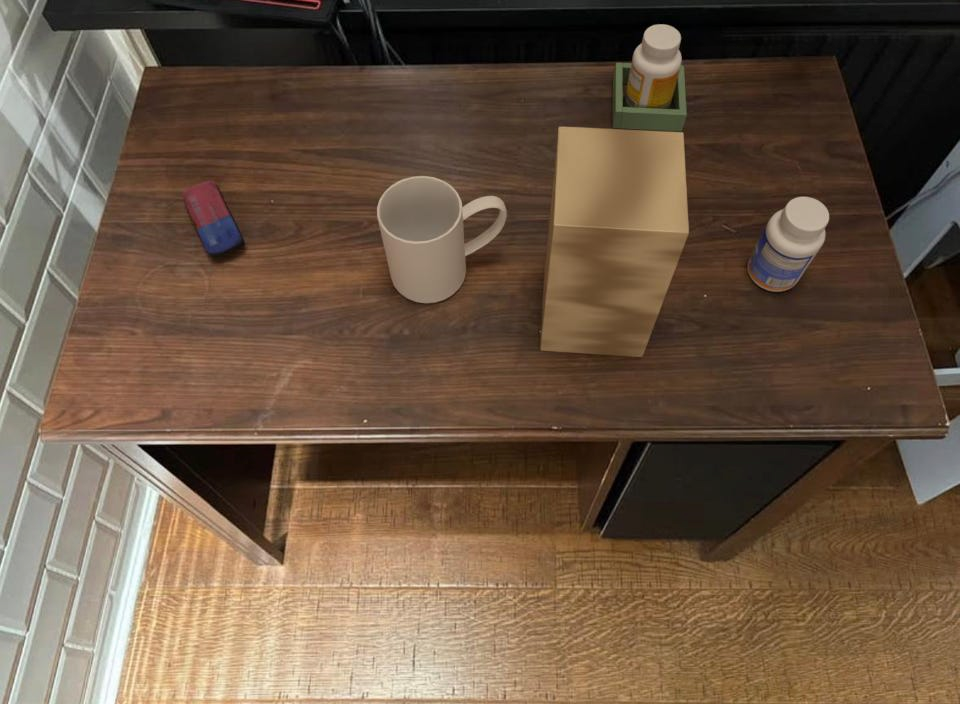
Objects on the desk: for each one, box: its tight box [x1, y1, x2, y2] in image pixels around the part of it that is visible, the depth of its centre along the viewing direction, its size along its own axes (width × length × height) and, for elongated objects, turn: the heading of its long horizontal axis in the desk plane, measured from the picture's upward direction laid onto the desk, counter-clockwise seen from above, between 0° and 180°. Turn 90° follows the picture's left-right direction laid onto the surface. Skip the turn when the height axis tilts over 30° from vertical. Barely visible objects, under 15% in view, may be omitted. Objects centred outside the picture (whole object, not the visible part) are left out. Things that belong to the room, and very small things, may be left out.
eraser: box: [182, 180, 246, 260], centre depth 80 cm, size 11×4×2 cm, turn 29°
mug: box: [376, 175, 508, 304], centre depth 73 cm, size 12×8×10 cm, turn 102°
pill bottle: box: [746, 196, 830, 293], centre depth 72 cm, size 5×5×10 cm
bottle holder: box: [612, 62, 688, 132], centre depth 87 cm, size 8×8×3 cm
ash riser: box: [539, 126, 690, 358], centre depth 66 cm, size 10×10×20 cm
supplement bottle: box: [623, 23, 683, 109], centre depth 84 cm, size 5×5×10 cm
